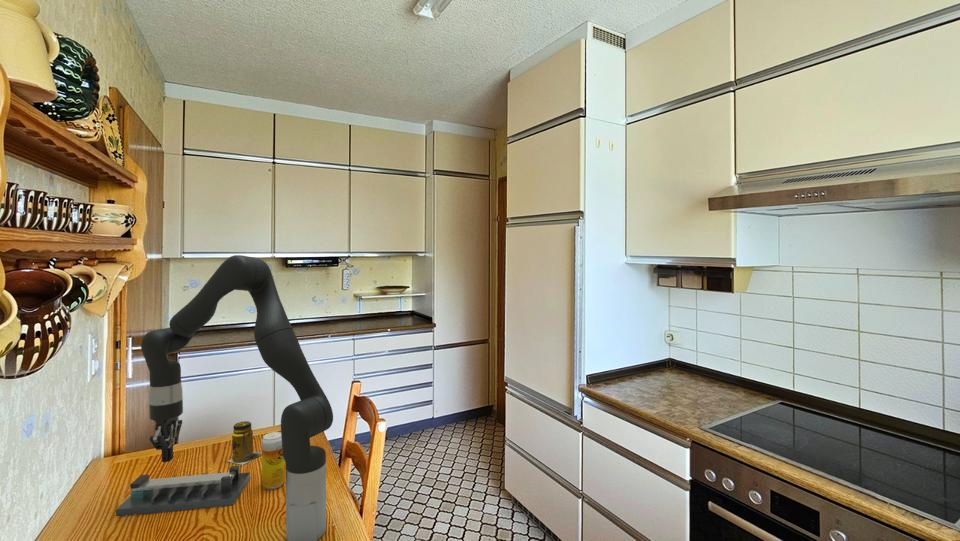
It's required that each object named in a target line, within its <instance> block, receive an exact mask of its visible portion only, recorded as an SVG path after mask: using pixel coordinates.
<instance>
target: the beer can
mask: <svg viewBox="0 0 960 541" xmlns="http://www.w3.org/2000/svg"><path fill="white" fill-rule="evenodd" d="M261 453H262V454H261V478H262V479H261V484H262V487H263V488H264V489H265V490H276V489H278V488H280V487H281V486H283V484H284V483H285V482H286V464H285V460H284V457H283V452H282V436H281V431H272V432H270V433H267V434H264V435H263V436H262V439H261Z"/></svg>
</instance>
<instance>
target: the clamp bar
mask: <svg viewBox="0 0 960 541" xmlns="http://www.w3.org/2000/svg"><path fill="white" fill-rule="evenodd" d="M203 474H204V473H203ZM203 474H194V475H193V474H192V475H191V476H188V475H183V476H176V477H173V476H172V477H170V476H169V477H161V478H150V474H140V475H139V476H138V477H137V478H136V479H135V480H134V481H132V483H130V489H131V492H132V491H141V490H152V489H163V488H173V487H184V486H195V485H206V484H216V483H221V478H222V477H225V476H232V479H233V478H234V477H235V475H236V472H235V471H232V472H229V471H227V472H221V473H218V472H217V473H206V474H204V475H203Z"/></svg>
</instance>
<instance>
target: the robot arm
mask: <svg viewBox="0 0 960 541" xmlns="http://www.w3.org/2000/svg"><path fill="white" fill-rule="evenodd" d="M234 291H246V292H248V293H249V295H250V296H251V298H252V300H253V303H254V305H255V309H256V319H255V325H254V329H253V330H254V331H253V336H254V342H255V344H256V346H257V350H258V352H259V354H260V356H261V358H262V360H263V362H264V363H265V365H267V367H269V369H271V370H272V371H274V372H275V373H276V374H278V375H279V376H280V377H281V378H283V379H284V380H285V381H287V382H288V383H289V384H290V385H291V387H293V389H294V390H295V392H296V394H297V395H298V398H299V400H298V401H296V402H294V403H293V402H292V403H291V404H288V405H287V406H285V407H284V409H283V410H282V413H281V418H280V432H281V436H282V452H283V457H284V460H285V531H286V533H285V538H286V540H287V541H319V539H320V538H321V537H323V535H324V534H325V533H326V531H327V474H326V473H327V452H326V450H325V449H324V448H323V447H322V446H319V445H311V438H313V437H315V436H317V435H319V434H321V433H324V432H326V431H327V430H329V429H330V428H331V427H332V425H333V422H334V413H333V408H332V405H331V402H330V401H329V398H328V397H327V395H326V393H325V392H324V390H323V389H322V386H321V385H320V383H319V382H318V380H317V378H316V376H315V375H314V373H313V370H312V369H311V367H310V365H309V363H308V360H307V359H306V356H305V354H304V352H303V350H302V348H301V345H300V341H299V340H298V338H297V335H296V333H295V332H296V331H295V330H294V328H293V327H292V326H293V325H292V324H291V322H290V320H289V318H288V315H287V313H286V310H285V308H284V306H283V303H282V301H281V299H280V296H279V293H278V290H277V286H276V282H275V279H274V276H273V273H272V270H271V268H270V267H269V264H268V262H266V261H265V260H263V259H261V258H258V257H254V256H249V255H248V256H246V255H240V254H239V255H238V254H236V255H232V256H229V257H228V258H226V259H225V260H224V261H223V262H222V263H221V264H220V266H218V268H216V270H215V272H214V273H213V274H212V275H211V277H210V278H209V279H208V280H207V281H206V283H205V284H204V285H203V287H202V288H201V289H200V291H198V292H197V294H196V295H195V296H194V297H193V298H192V299H191V300H190V301H189V302H188V303H187V304H185V306H183V307H182V308H181V309H180V310H179V311H177V313H175V314H174V315H173V316H172V317H171V318H170V320H169V322H168V323H169V327H165V328H160V329H155V330H154V329H153V330H150V331H148V332H146V333H145V334H144V336H142V339H141V341H140V342H141V344H140V349H141V353H142V355H143V357H144V360H145V364H146V366H147V368H148V372H149V390H148V392H149V393H148V405H149V407H148V409H149V413H148V414H149V420H151V421H154V422H155V425H154V426H155V427H154V432H155V433H154V435H151V436H150V438H149V441H150V443H151V444H152V445H153V447H154V448H155V450H156V451H158V450H159V451H160V450H161V462H162V463H169V462H171V461H172V460H173V459H174V447H175V444H176V442H177V441H178V440H179V436H180V433H181V428H182V424H183V420H182V419H179V418H178V417H180V416H181V415H183V413H184V406H183V405H184V402H183V399H184V398H183V386H182V367H181V364H180V362H178V361H176V360H169V359H168V356H167V355H168V354H170V353H171V354H172V353H175V352H178V351H180V350H183V348H185V347H186V346H187V345H188V344H189V342H190V341H191V340H192V338H193V337H194V336H195V334H196V333H197V332H198V331H199V330H200V329H201V328H203V327H204V326H205V325H206V324H207V323H208V322H210V321H211V319H213V317H214V315H215V313H216V310H217V307H218V304H219V302H220V301H221V300H222V298H223V297H225V296H226V295H228V294H230V293H231V292H234Z"/></svg>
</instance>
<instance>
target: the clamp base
mask: <svg viewBox="0 0 960 541" xmlns="http://www.w3.org/2000/svg"><path fill="white" fill-rule="evenodd" d="M232 471H235V472H236V475H235V477H234V478H233V479H232V476H225V477H222V478H221V483H216V484H206V485H195V486H184V487H173V488H163V489H152V490H141V491H132V490H131V491H130V493H129V494H130V496H129V497H128V498H126V500H124V501H123V502H122V503H121V504H120V505H119V506H118V507H116V509H115V517H116V516H121V517H127V516H126V515H131V516H135V515H134V514H141V515H147V514H148V515H149V514H151V515H152V514H159V513H167V512H177V511H178V512H181V511H189V510H197V509H208V508H218V507H229V506H234V505H235V503H236V502H237V500H238V498H239V497H240V496H241V494H242V492H243V491H244V489H245V488H246V486H247V484H248V483H249V481H250V480H251V472H241V471H240V465H230V467H229V468H228V472H232ZM217 473H222V471H218V472H217ZM204 474H207V473H206V472H203V474H202V475H204ZM187 476H192V474H191V473H189V474H188V475H187ZM172 477H177V475H173V476H172Z"/></svg>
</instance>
